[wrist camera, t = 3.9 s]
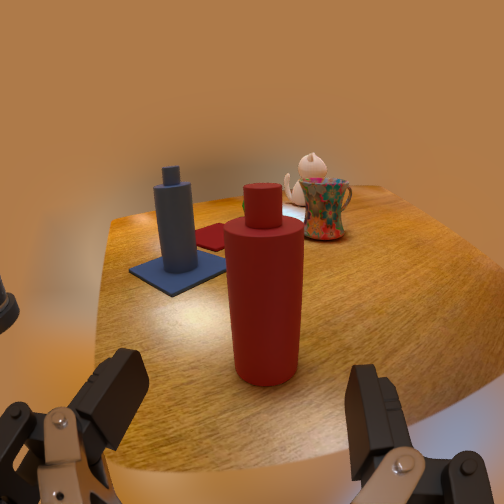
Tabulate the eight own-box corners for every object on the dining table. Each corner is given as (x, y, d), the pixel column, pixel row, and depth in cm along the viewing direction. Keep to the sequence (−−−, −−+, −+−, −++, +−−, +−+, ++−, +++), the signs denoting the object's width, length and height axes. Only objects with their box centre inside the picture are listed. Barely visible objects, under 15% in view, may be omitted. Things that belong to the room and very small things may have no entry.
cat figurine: (325, 209, 75) (325, 153, 70) (280, 206, 80) (279, 152, 74) (327, 203, 83) (328, 152, 78) (287, 200, 87) (286, 152, 82)
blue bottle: (177, 276, 38) (164, 168, 33) (157, 267, 42) (144, 169, 36) (205, 264, 42) (197, 164, 37) (184, 256, 45) (175, 164, 40)
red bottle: (272, 396, 19) (271, 194, 14) (222, 367, 23) (203, 188, 17) (309, 359, 23) (319, 183, 18) (261, 338, 26) (256, 178, 21)
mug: (318, 247, 49) (320, 184, 45) (289, 233, 56) (288, 178, 53) (365, 236, 53) (368, 182, 50) (334, 224, 61) (336, 176, 57)
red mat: (216, 251, 48) (215, 248, 48) (174, 239, 56) (174, 236, 55) (261, 233, 57) (260, 231, 57) (218, 224, 64) (218, 222, 64)
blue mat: (172, 297, 34) (171, 293, 34) (128, 272, 41) (128, 269, 41) (238, 265, 43) (238, 262, 42) (188, 249, 50) (188, 246, 50)
